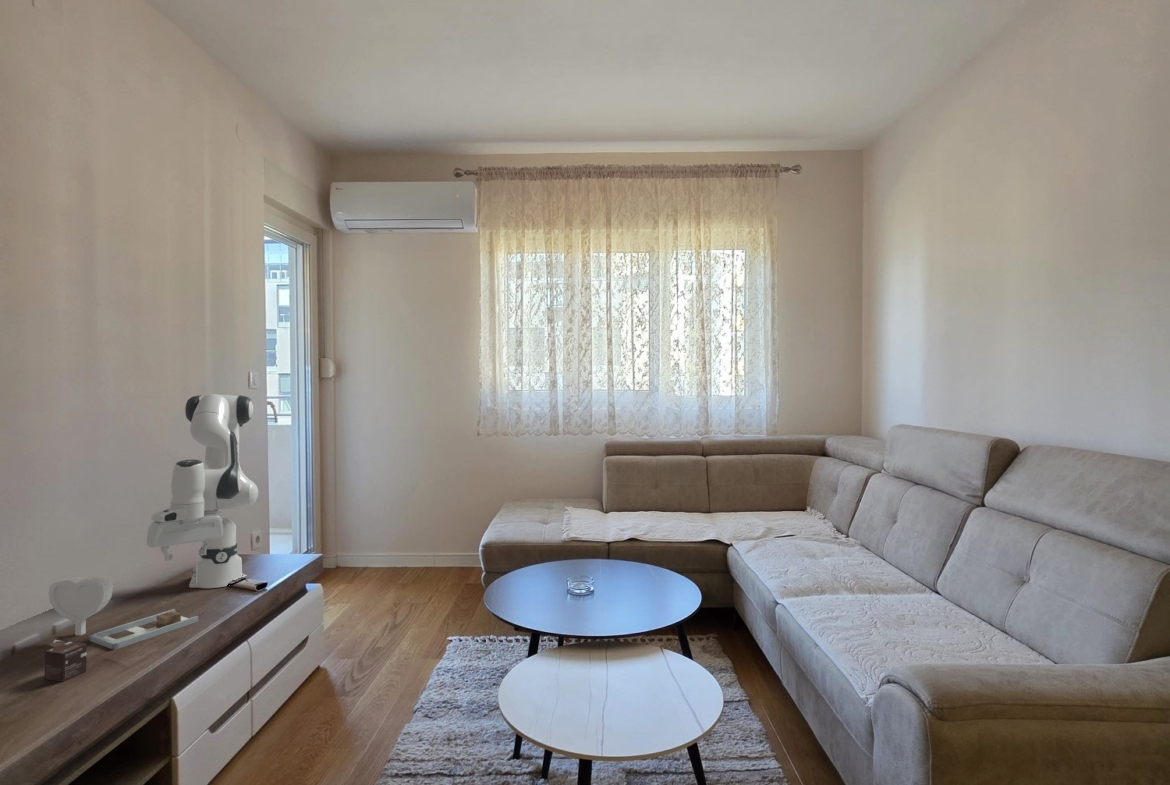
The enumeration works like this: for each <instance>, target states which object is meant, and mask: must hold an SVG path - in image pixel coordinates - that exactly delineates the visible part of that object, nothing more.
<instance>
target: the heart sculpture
mask: <svg viewBox="0 0 1170 785" xmlns="http://www.w3.org/2000/svg"><path fill="white" fill-rule="evenodd" d="M113 588H114V587H113V582H112V581H111V580H110V579H108V578H105V577H102V576H93V575H92V576H90V577H88V578H83V577H81V576H78V575H77V576H76V575H75V576H74V575H73V576H69V577H66V578H63V579H60V580H58V581H55V582H53V583H51V584H50V586H49V588H48V599H49V603H50V604H51V606H52V608H53V609H54V611H55V612H57V613H58V614H59V615H60V616H62V617H63V618H65V619H66V620H69V621H71V622H72V623H73V624H75V626H74V627H75V628H74V629H75V630H74V636H83V635H85V634H86V632H87V630H86V629H87V628H86V626H87V624H86V623H87V619H89V618H90V617H92V616H93V615H95V614H97V613H98V612H100V611H102V609H103V608H105V607H107V605H108V603H109V602H110V601H111V599H112V595H113V590H114V589H113ZM56 642H57V643H56ZM58 642H65V641H64V640H61V639H59V640H56V639H55V640H53V642H52V643H53V644H59V643H58Z"/></svg>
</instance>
